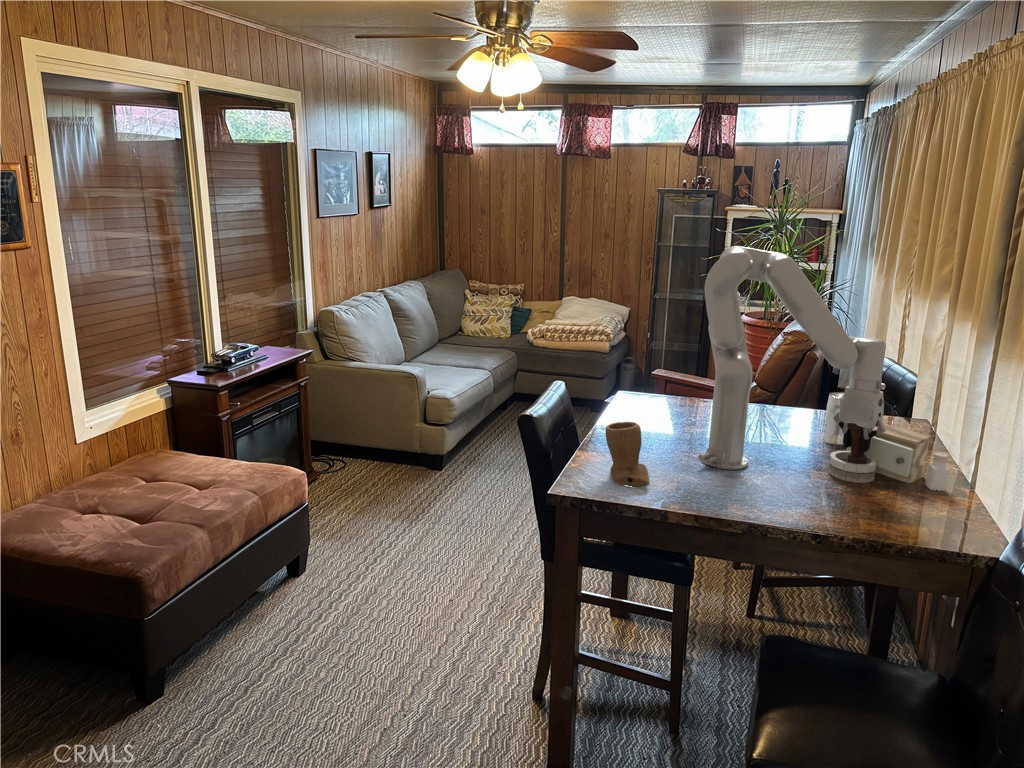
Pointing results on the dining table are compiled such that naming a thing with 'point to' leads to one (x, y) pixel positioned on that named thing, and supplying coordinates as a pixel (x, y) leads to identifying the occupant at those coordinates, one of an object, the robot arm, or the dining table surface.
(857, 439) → the bolt
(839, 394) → the silver tall cylinder
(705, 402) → the dining table surface
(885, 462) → the grey piece
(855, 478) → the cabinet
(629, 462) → the tan hollow piece
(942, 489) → the pepper shaker
